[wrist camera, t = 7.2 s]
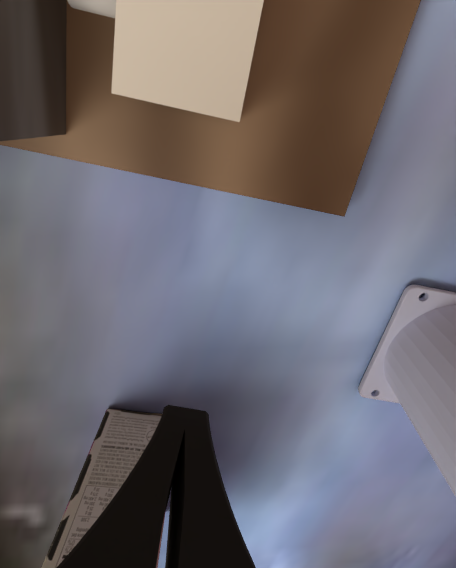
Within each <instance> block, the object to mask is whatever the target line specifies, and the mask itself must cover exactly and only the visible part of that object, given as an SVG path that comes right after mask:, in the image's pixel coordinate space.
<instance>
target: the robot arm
mask: <svg viewBox="0 0 456 568" xmlns="http://www.w3.org/2000/svg"><path fill="white" fill-rule="evenodd" d="M422 293H425V295H424V296H423V297H422V298H419V296H420V295H421V294H422ZM374 390H376V391H375V392H372V391H374ZM358 391H359V393H360V395H361V396H362V397H365V398H371V399H377V400H383V401H389V402H395V403H400V404H401V406H402V407H403V409H404V411H405V412H406V414H407V416H408V417H409V419H410V421H411V422H412V424H413V426H414V428H415V429H416V431H417V433H418V434H419V436H420V438H421V439H422V441H423V443H424V444H425V446H426V448H427V449H428V451H429V453H430V454H431V456H432V458H433V459H434V461H435V463H436V465H437V466H438V468H439V470H440V471H441V473H442V475H443V476H444V478H445V480H446V481H447V483H448V485H449V486H450V488H451V490H452V491H453V493H454V495H455V496H456V292H451V291H446V290H440V289H435V288H430V287H425V286H420V285H410V286H408V287H407V288H406V289H405V290H404V292H403V294H402V296H401V298H400V300H399V302H398V304H397V306H396V308H395V311H394V313H393V315H392V317H391V319H390V321H389V323H388V325H387V328H386V330H385V332H384V334H383V336H382V338H381V340H380V342H379V344H378V347H377V349H376V351H375V353H374V355H373V357H372V359H371V361H370V364H369V366H368V368H367V370H366V372H365V374H364V376H363V378H362V381H361V383H360V385H359V387H358ZM171 487H172V489H171ZM170 491H171V502H170V515H169V527H168V540H167V553H166V566H165V568H256V567H255V565H254V563H253V560H252V558H251V556H250V554H249V551H248V549H247V547H246V544H245V542H244V540H243V537H242V535H241V532H240V530H239V527H238V525H237V522H236V519H235V517H234V514H233V511H232V509H231V506H230V503H229V500H228V497H227V494H226V491H225V488H224V484H223V481H222V478H221V474H220V470H219V467H218V463H217V460H216V455H215V451H214V447H213V442H212V437H211V431H210V424H209V414H208V413H207V412H206V411H201V410H195V409H189V408H183V407H177V406H171V405H168V406H166V407H164V410H163V414H162V416H161V419H160V421H159V423H158V426H157V428H156V430H155V432H154V434H153V436H152V438H151V439H150V441H149V443H148V445H147V447H146V448H145V450H144V452H143V453H142V455H141V457H140V458H139V460H138V462H137V463H136V465H135V467H134V468H133V470H132V471H131V473H130V474H129V476H128V477H127V479H126V480H125V482H124V483H123V485H122V486H121V488H120V489H119V490H118V492H117V493H116V495H115V496H114V497H113V499H112V500H111V502H110V503H109V504H108V506H107V507H106V508H105V510H104V511H103V512H102V513H101V515H100V516H99V517H98V519H97V520H96V521H95V523H94V524H93V525H92V526H91V527H90V529H89V530H88V531H87V532H86V534H85V535H84V536H83V537H82V538H81V540H80V541H79V542H78V543H77V545H76V546H75V547H74V548H73V549H72V550H71V552H70V553H69V554H68V555H67V556H66V557H65V558H64V560H63V561H62V562H61V563H60V564H59V565H58V566H57V567H56V568H156V564H157V557H158V551H159V544H160V537H161V531H162V525H163V519H164V515H165V511H166V507H167V503H168V499H169V495H170Z"/></svg>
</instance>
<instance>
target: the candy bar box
mask: <svg viewBox="0 0 456 568" xmlns="http://www.w3.org/2000/svg"><path fill="white" fill-rule="evenodd" d="M161 416H162V414H158V413H144V412H134V411H127V410H118V409H107V410H106V413H105V415H104V417H103V420H102V422H101V425H100V427H99V430H98V432H97V434H96V437H95V439H94V442H93V444H92V446H91V449H90V451H89V454H88V456H87V458H86V461H85V463H84V466H83V468H82V471H81V473H80V475H79V478H78V481H77V483H76V486H75V488H74V490H73V493H72V495H71V498H70V500H69V503H68V505H67V508H66V510H65V512H64V515H63V517H62V520H61V522H60V525H59V527H58V530H57V532H56V535H55V537H54V540H53V542H52V544H51V546H50V549H49V551H48V554H47V556H46V559H45V561H44V563H43V566H42V568H56V567H57V566H58V565H59V564H60V563H61V562H62V561H63V560H64V558H65V557H66V556H67V555H68V554H69V553H70V552H71V550H72V549H73V548H74V547H75V546H76V545H77V543H78V542H79V541H80V540H81V538H82V537H83V536H84V535H85V534H86V532H87V531H88V530H89V529H90V527H91V526H92V525H93V524H94V523H95V521H96V520H97V519H98V517H99V516H100V515H101V513H102V512H103V511H104V510H105V508H106V507H107V506H108V504H109V503H110V502H111V500H112V499H113V497H114V496H115V495H116V493H117V492H118V490H119V489H120V488H121V486H122V485H123V483H124V482H125V480H126V479H127V477H128V476H129V474H130V473H131V471H132V470H133V468H134V467H135V465H136V463H137V462H138V460H139V458H140V457H141V455H142V453H143V452H144V450H145V448H146V447H147V445H148V443H149V441H150V439H151V438H152V436H153V434H154V432H155V430H156V428H157V426H158V423H159V421H160V419H161ZM164 518H165V515H164ZM163 525H164V519H163ZM163 525H162V531H161V537H160V544H159V551H158V557H157V564H156V568H157V567H158V560H159V553H160V546H161V539H162V532H163Z"/></svg>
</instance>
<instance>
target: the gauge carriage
mask: <svg viewBox="0 0 456 568" xmlns="http://www.w3.org/2000/svg"><path fill="white" fill-rule="evenodd" d="M67 1H68V3H69V5H70V6H71V7H72V8H74V9H78V10H82V11H87V12H91V13H95V14H99V15H103V16H107V17H111V18H115V34H114V53H113V72H112V91H111V93H112V94H117V95H121V96H126V97H130V98H134V99H139V100H143V101H148V102H152V103H156V104H161V105H165V106H170V107H174V108H179V109H183V110H187V111H192V112H196V113H201V114H205V115H210V116H214V117H218V118H223V119H227V120H232V121H236V122H240V118H241V113H242V107H243V102H244V97H245V92H246V87H247V82H248V77H249V72H250V67H251V62H252V57H253V52H254V47H255V42H256V37H257V32H258V27H259V22H260V17H261V12H262V7H263V2H264V0H67Z"/></svg>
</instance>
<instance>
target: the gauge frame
mask: <svg viewBox="0 0 456 568" xmlns="http://www.w3.org/2000/svg"><path fill="white" fill-rule="evenodd" d="M420 1H421V0H264V2H263V7H262V12H261V17H260V22H259V27H258V32H257V37H256V42H255V47H254V52H253V57H252V62H251V67H250V72H249V77H248V82H247V87H246V92H245V97H244V102H243V107H242V113H241V118H240V122H236V121H232V120H227V119H223V118H218V117H214V116H210V115H205V114H201V113H196V112H192V111H187V110H183V109H179V108H174V107H170V106H165V105H161V104H156V103H152V102H148V101H143V100H139V99H134V98H130V97H126V96H121V95H117V94H112V93H111V91H112V72H113V53H114V34H115V18H111V17H107V16H103V15H99V14H95V13H91V12H87V11H82V10H78V9H74V8H72V7H71V6H70V5H69V3H68V1H67V0H0V145H4V146H9V147H14V148H19V149H23V150H28V151H33V152H38V153H43V154H47V155H52V156H57V157H62V158H66V159H71V160H76V161H81V162H86V163H90V164H95V165H100V166H105V167H110V168H114V169H119V170H124V171H129V172H134V173H138V174H143V175H148V176H153V177H158V178H162V179H167V180H172V181H177V182H181V183H186V184H191V185H196V186H201V187H205V188H210V189H215V190H220V191H225V192H229V193H234V194H239V195H244V196H249V197H253V198H258V199H263V200H268V201H273V202H277V203H282V204H287V205H292V206H296V207H301V208H306V209H311V210H316V211H320V212H325V213H330V214H335V215H340V216H345V213H346V210H347V208H348V205H349V202H350V199H351V196H352V193H353V191H354V188H355V185H356V182H357V179H358V176H359V174H360V171H361V168H362V165H363V162H364V159H365V157H366V154H367V151H368V148H369V145H370V142H371V140H372V137H373V134H374V131H375V128H376V125H377V123H378V120H379V117H380V114H381V111H382V108H383V106H384V103H385V100H386V97H387V94H388V91H389V89H390V86H391V83H392V80H393V77H394V74H395V72H396V69H397V66H398V63H399V60H400V57H401V55H402V52H403V49H404V46H405V43H406V41H407V38H408V35H409V32H410V29H411V26H412V24H413V21H414V18H415V15H416V12H417V9H418V7H419V4H420Z"/></svg>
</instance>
